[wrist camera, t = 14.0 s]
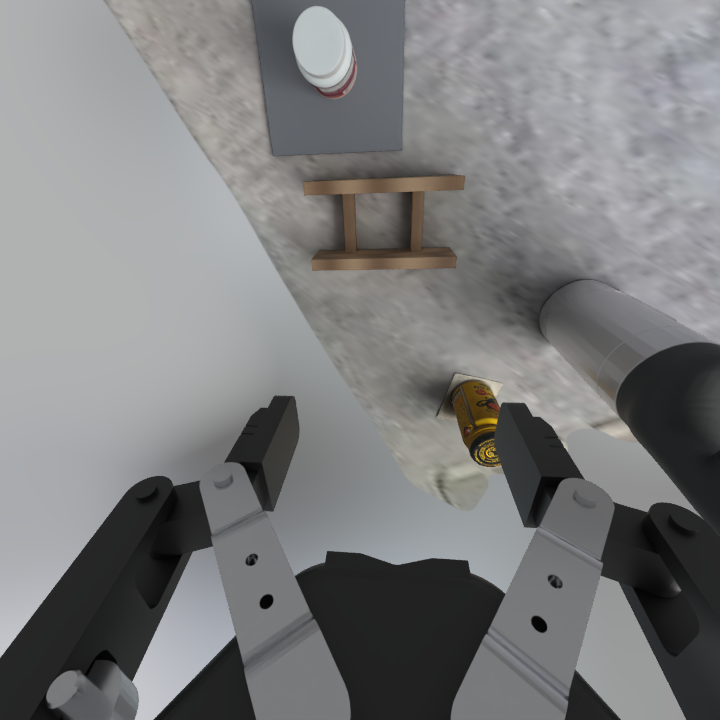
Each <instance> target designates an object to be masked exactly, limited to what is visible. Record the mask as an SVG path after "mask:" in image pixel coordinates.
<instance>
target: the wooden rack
mask: <svg viewBox="0 0 720 720" xmlns="http://www.w3.org/2000/svg"><path fill="white" fill-rule="evenodd" d="M464 182H465V176H461V175H445V176H419V177H394V178H369V179H344V180H319V181H308V182H303V187H304V195H330V194H342V198H343V216H344V234H345V250H319V251H318V252H317V254H316V255H315V256H314V257H313V258H312V260H311V262H312V271H316V270H371V269H427V268H456V260H457V256H456V255H455V254H454V253H453V251H452V250H451V249H450V248H421V246H422V227H423V208H424V191H440V190H464ZM385 192H412V203H411V231H410V248H406V249H363V250H357V238H356V212H355V194H358V193H385Z"/></svg>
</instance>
